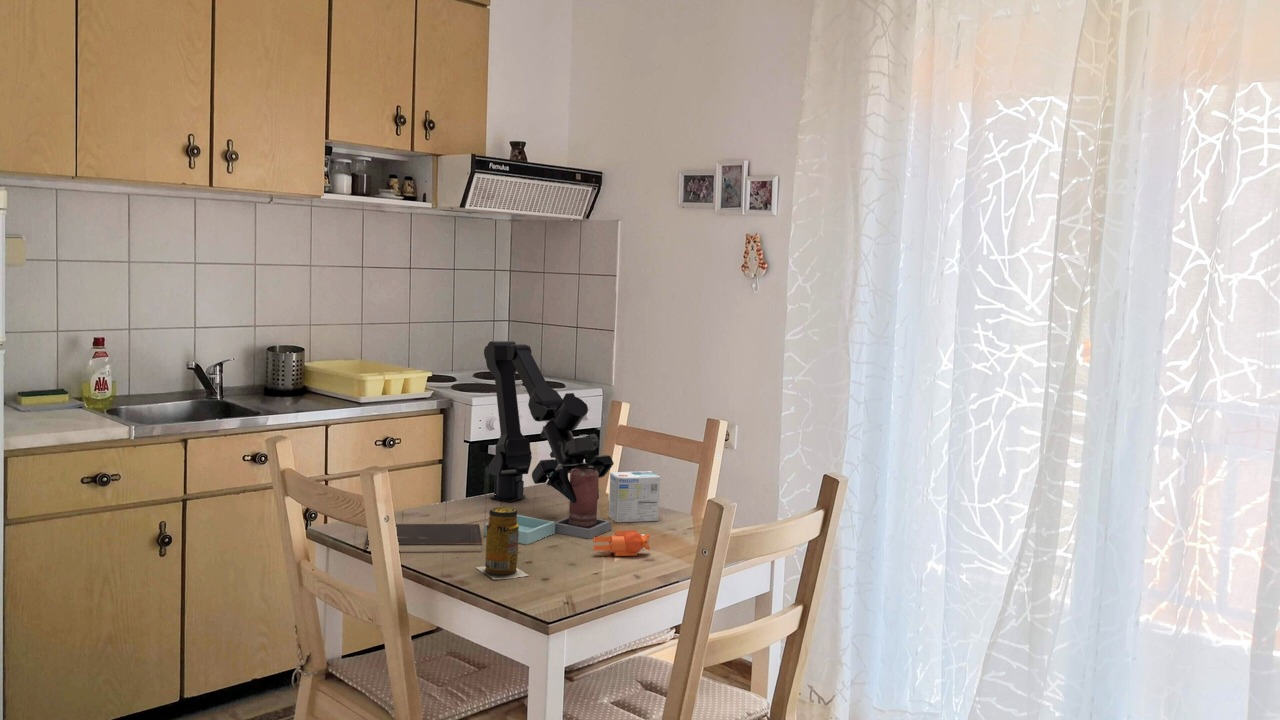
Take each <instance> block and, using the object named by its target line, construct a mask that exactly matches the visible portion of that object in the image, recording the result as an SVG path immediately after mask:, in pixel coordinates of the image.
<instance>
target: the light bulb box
mask: <svg viewBox="0 0 1280 720" xmlns="http://www.w3.org/2000/svg"><path fill="white" fill-rule="evenodd" d="M660 480H661V477H660V475H658V474H656V473H655V472H653V471H652V470H648V471H647V470H645V471H617V472H616V471H615V472H614V471H610V472H609V493H608V494H609V499H608V517H609V518H610V519H613V520H612V521H614V523H616V522H617V523H633V522H635V523H637V522H638V523H639V522H658V521H659V508H660V507H659V504H660V502H659V501H660V484H661V483H660Z"/></svg>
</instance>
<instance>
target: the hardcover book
mask: <svg viewBox="0 0 1280 720" xmlns="http://www.w3.org/2000/svg"><path fill="white" fill-rule="evenodd" d="M395 524H396V527H397V536H398V542H399V547H400V552H399V553H405V552H406V553H407V552H408V553H415V552H416V553H417V552H419V553H421V552H423V553H425V552H427V553H429V552H430V553H432V552H433V553H435V552H436V553H437V552H440V553H442V552H444V553H445V552H449V553H450V552H481V551H482V546H483V540H482V531H481V526H480V523H395ZM364 546H366V548H367V547H368V549H369V540H368V533H367V535H366V539H365V544H364Z"/></svg>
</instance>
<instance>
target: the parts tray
mask: <svg viewBox="0 0 1280 720" xmlns="http://www.w3.org/2000/svg"><path fill="white" fill-rule="evenodd" d="M488 523H489V522H486V523H484V525H483V526H484V528H483V529H484V530H483V537H486V535H487V524H488ZM555 523H556V521H551V520H547V519H541V518H535V517H532V516H526V515H522V514H521V515H520V514H517V524H518V526H519V529H518V530H519V531H518V533H519V536H518V544H523V545H526V546H527V545H530V544H532V543H535V542H538V541H540V540H543V539H545V538H547V536H548V537H550V536H552V534H553V535H555V534H556V533H555ZM554 533H555V534H554ZM549 535H550V536H549ZM544 537H545V538H544ZM542 538H543V539H542ZM537 540H538V541H537Z"/></svg>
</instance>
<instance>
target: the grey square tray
mask: <svg viewBox="0 0 1280 720" xmlns="http://www.w3.org/2000/svg"><path fill="white" fill-rule="evenodd" d="M555 522H556V523H555V532H556V533H555V534H560V533H561V535H565V534H566V536H570V535H571V537H576V538H581V539H586V538H587V540H591V539H593V537H595V536H596V537H599V536H600V535H603V534H604V533H607V532H610V531H612V520H607V519H601V518H597V520H596V526H594V527H592V528H589V529H587V528H582V527H577V526H571V525H569V516H567V517H565V518H564V517H563V518H561V519H559V520H556V521H555ZM602 533H603V534H602Z"/></svg>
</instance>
